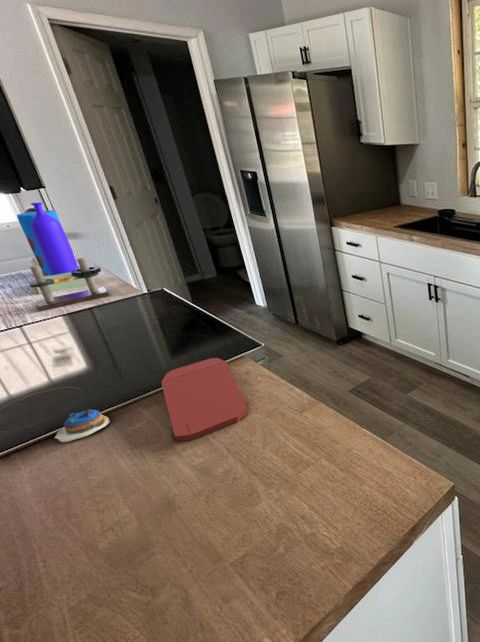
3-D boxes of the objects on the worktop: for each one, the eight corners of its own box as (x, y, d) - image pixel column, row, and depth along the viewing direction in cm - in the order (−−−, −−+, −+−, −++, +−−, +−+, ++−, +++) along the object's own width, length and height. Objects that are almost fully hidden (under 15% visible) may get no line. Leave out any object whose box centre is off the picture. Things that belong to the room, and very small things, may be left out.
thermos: (36, 274, 171) (9, 215, 162) (67, 266, 181) (43, 210, 172) (55, 276, 169) (28, 216, 160) (85, 268, 178) (62, 211, 169)
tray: (37, 285, 159) (34, 278, 158) (84, 276, 168) (82, 270, 167) (39, 294, 150) (36, 287, 149) (89, 284, 159) (86, 278, 158)
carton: (254, 428, 87) (226, 367, 102) (249, 411, 85) (221, 351, 100) (183, 458, 79) (164, 386, 95) (175, 440, 77) (158, 370, 92)
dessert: (121, 412, 85) (94, 404, 80) (105, 446, 82) (76, 439, 77) (85, 415, 86) (56, 406, 81) (67, 448, 82) (36, 441, 77)
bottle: (53, 276, 169) (21, 203, 158) (81, 271, 174) (52, 200, 164) (52, 281, 163) (19, 205, 153) (81, 276, 169) (51, 202, 158)
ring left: (43, 286, 155) (42, 283, 155) (61, 280, 162) (60, 276, 162) (64, 286, 156) (62, 282, 155) (81, 279, 163) (79, 276, 162)
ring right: (66, 277, 141) (64, 273, 140) (84, 270, 147) (82, 266, 147) (89, 276, 141) (87, 272, 141) (106, 269, 148) (104, 265, 148)
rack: (40, 312, 135) (20, 270, 130) (39, 306, 140) (20, 265, 135) (109, 296, 147) (94, 258, 142) (106, 291, 152) (91, 254, 147)
